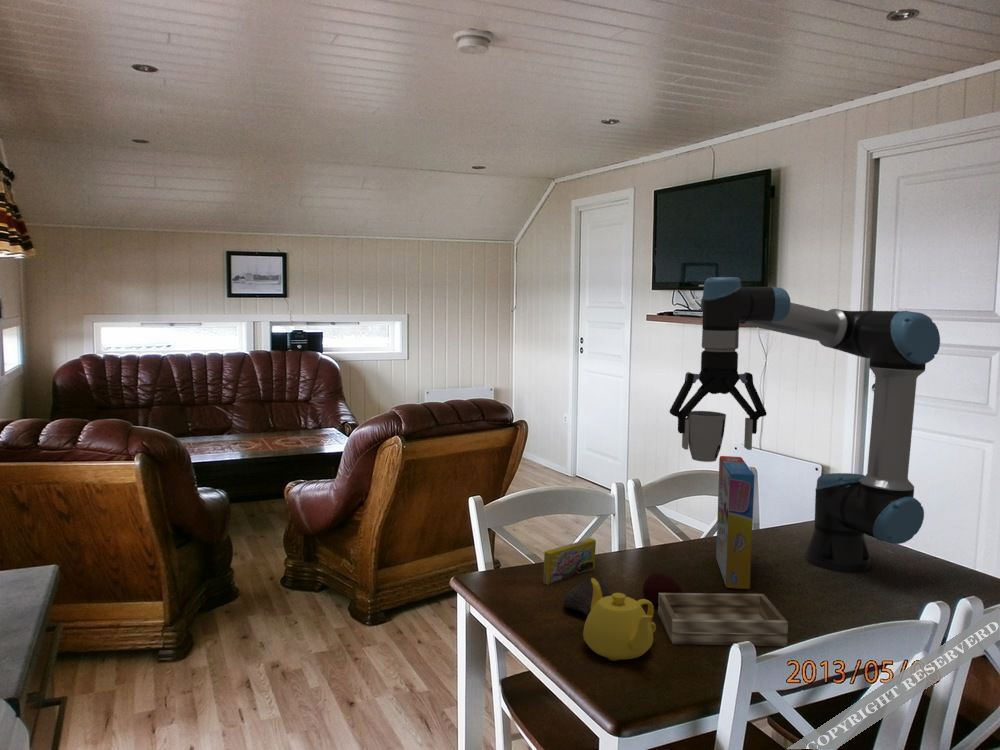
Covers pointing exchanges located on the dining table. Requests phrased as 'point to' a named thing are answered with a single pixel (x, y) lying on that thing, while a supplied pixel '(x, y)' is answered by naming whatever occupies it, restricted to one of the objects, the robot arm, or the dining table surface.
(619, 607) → the teapot
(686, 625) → the tray
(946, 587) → the dining table surface
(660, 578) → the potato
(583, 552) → the candy box
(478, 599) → the dining table surface
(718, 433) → the cup
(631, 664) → the dining table surface
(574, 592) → the stone
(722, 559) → the game box
